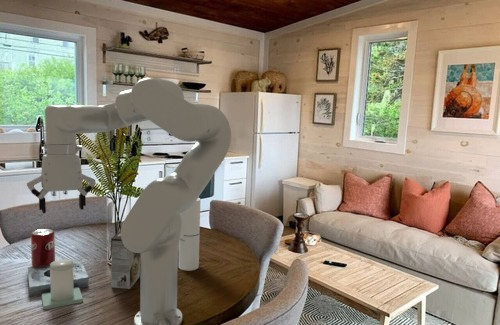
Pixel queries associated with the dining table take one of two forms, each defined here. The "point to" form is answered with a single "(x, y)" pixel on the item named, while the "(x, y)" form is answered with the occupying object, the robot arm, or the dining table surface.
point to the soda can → (42, 247)
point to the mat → (52, 304)
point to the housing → (41, 278)
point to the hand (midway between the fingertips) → (63, 210)
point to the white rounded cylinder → (61, 280)
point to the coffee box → (123, 264)
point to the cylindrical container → (190, 238)
